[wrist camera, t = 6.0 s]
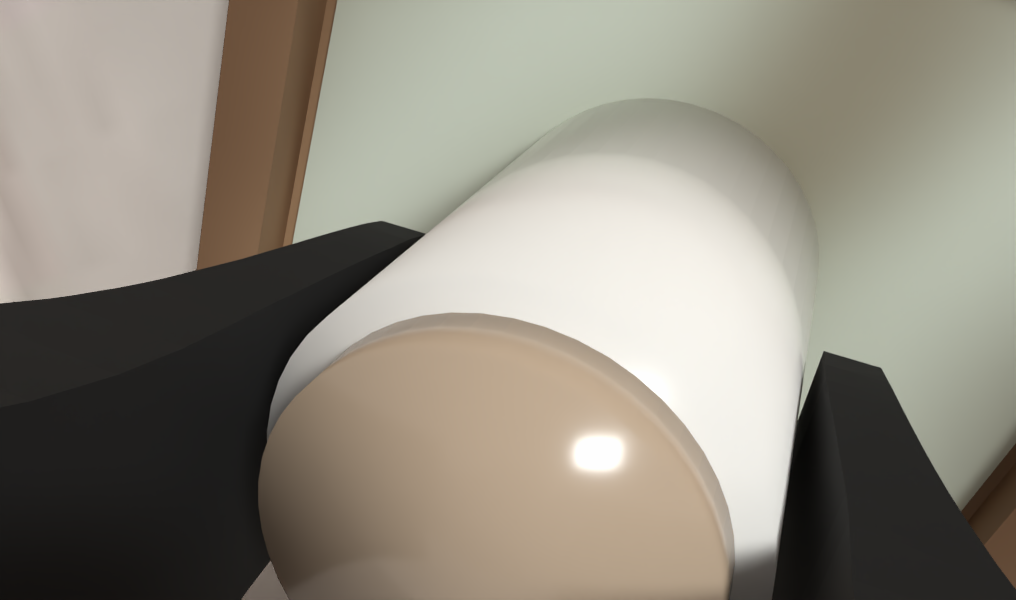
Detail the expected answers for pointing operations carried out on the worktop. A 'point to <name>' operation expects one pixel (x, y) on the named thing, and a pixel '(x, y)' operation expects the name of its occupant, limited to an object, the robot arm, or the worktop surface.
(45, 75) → the worktop surface
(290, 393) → the salt cellar
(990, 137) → the rest tray
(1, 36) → the worktop surface
